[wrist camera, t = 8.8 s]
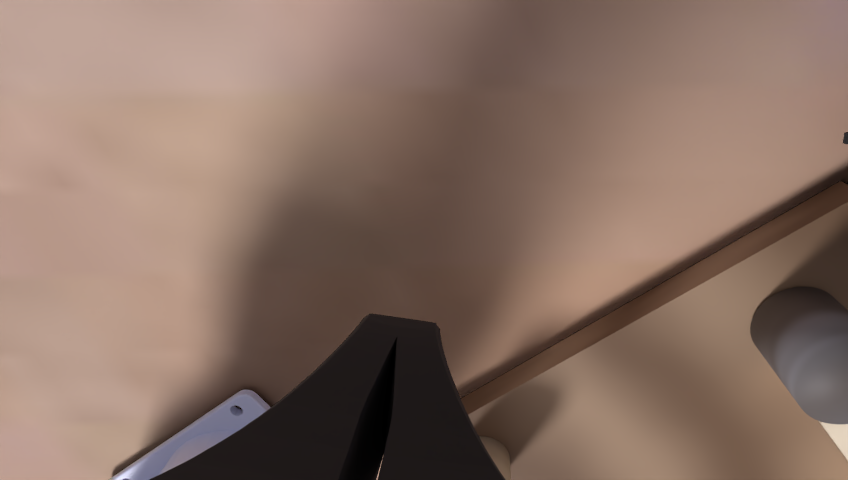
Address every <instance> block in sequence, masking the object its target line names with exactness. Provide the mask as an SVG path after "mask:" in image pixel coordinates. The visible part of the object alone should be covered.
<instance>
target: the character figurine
mask: <svg viewBox="0 0 848 480" xmlns="http://www.w3.org/2000/svg"><path fill="white" fill-rule="evenodd" d="M843 143H845V144H848V132H846V133H844V139H843Z"/></svg>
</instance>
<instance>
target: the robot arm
mask: <svg viewBox="0 0 848 480" xmlns="http://www.w3.org/2000/svg"><path fill="white" fill-rule="evenodd" d="M234 405H235V406H239V407H241V408H242V410H241V409H238V408H236V407H235V406H234ZM383 454H384V456H383ZM382 457H383V460H382ZM381 461H382V464H381ZM380 464H381V468H380ZM379 468H380V473H379V477H378V480H505V478H504V477H503V475H502V474H501V472H500V471H499V469H498V468H497V466H496V464H495V463H494V461H493V460H492V458H491V456H490V455H489V453H488V452H487V450H486V448H485V446H484V445H483V443H482V441H481V439H480V437H479V435H478V434H477V432H476V430H475V428H474V426H473V424H472V422H471V420H470V418H469V416H468V414H467V412H466V410H465V407H464V405H463V403H462V401H461V399H460V396H459V394H458V391H457V389H456V386H455V384H454V381H453V379H452V376H451V373H450V370H449V367H448V364H447V361H446V358H445V354H444V351H443V347H442V342H441V336H440V329H439V327H438V326H437V325H436V323H433V322H426V321H419V320H412V319H405V318H398V317H391V316H384V315H377V314H369V315H368V316H366V317H365V318H363V320H362V321H361V322H360V324H359V325H358V326H357V327H356V328H355V330H354V331H353V332H352V333H351V334H350V335H349V337H348V338H347V339H346V340H345V341H344V342H343V343H342V344H341V345H340V346H339V347H338V348H337V349H336V350H335V351H334V352H333V353H332V354H331V355H330V356H329V357H328V358H327V359H326V360H325V361H324V362H323V363H322V364H321V365H320V366H319V367H318V368H317V369H316V370H315V371H314V372H313V373H312V374H311V375H310V376H308V377H307V378H306V379H305V380H304V381H303V382H301V383H300V384H299V385H298V386H297V387H296V388H294V389H293V390H292V391H291V392H290V393H289V394H287V395H286V396H285V397H284V398H283V399H281V400H280V401H279V402H277V403H276V404H275V405H274V406H272V407H270V406H269V405H268V404H267V403H266V402H265V401H264V400H263V399H262V398H261V397H260V396H259V395H258V394H256V393H255V392H253V391H251V390H241V391H239V392H238V393H236V394H235V395H233V396H232V397H230V398H229V399H227V400H226V401H224V402H223V403H221V404H220V405H218V406H217V407H215V408H214V409H212V410H211V411H209V412H208V413H206V414H205V415H203V416H202V417H201V418H199V419H198V420H196V421H195V422H193V423H192V424H190V425H189V426H187V427H186V428H184V429H183V430H181V431H180V432H178V433H177V434H175V435H174V436H172V437H171V438H169V439H168V440H166V441H165V442H163V443H162V444H161V445H159V446H158V447H156V448H155V449H153V450H152V451H150V452H149V453H147V454H146V455H144V456H143V457H141V458H140V459H138V460H137V461H135V462H134V463H132V464H131V465H129V466H128V467H126V468H125V469H124V470H122V471H121V472H119V473H118V474H116V475H115V476H113V477H112V478H110V479H109V480H376V478H377V475H378V471H379Z"/></svg>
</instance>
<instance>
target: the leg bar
mask: <svg viewBox="0 0 848 480" xmlns="http://www.w3.org/2000/svg"><path fill="white" fill-rule="evenodd" d="M750 334H751V338H752V341H753V343H754V344H755V346H756V347H757V349H758V350H759V351H760V353H761V354H762V355H763V357H764V358H765V359H766V361H767V362H768V364H769V365H770V366H771V368H772V369H773V370H774V372H775V373H776V375H777V376H778V377H779V379H780V380H781V381H782V383H783V384H784V385H785V387H786V388H787V390H788V391H789V392H790V394H791V395H792V396H793V398H794V399H795V400H796V402H797V403H798V405H799V406H800V407H801V409H802V410H803V411H804V412H805V413H806V414H807V415H809V416H810V417H812V418H813V419H815V420H818V421H819V423H820V424H821V425H822V427H823V428H824V430H825V431H826V432H827V434H828V435H829V436H830V438H831V439H832V440H833V442H834V443H835V445H836V446H837V447H838V449H839V450H840V451H841V453H842V454H843V455H844V457H845V458H846V460H847V461H848V310H847V309H846V308H845V307H844V306H843V305H841V304H840V303H839V302H838V301H837V300H836V299H835V298H834V297H833V296H832V295H831V294H829V293H827V292H826V291H824V290H821V289H818V288H814V287H805V286H804V287H794V288H789V289H786V290H783V291H780V292H778V293H776V294H774V295H773V296H771V297H770V298H768V299H767V300H766V301H764V302H763V303H762V304H761V305H760V307H759V308H758V309H757V311H756V312H755V314H754V316H753V318H752V321H751V326H750Z"/></svg>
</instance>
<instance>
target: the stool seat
mask: <svg viewBox="0 0 848 480" xmlns="http://www.w3.org/2000/svg"><path fill="white" fill-rule="evenodd" d="M804 286H805V287H814V288H818V289H821V290H824V291H826V292H827V293H829V294H831V295H832V296H833V297H834V298H835V299H836V300H837V301H838V302H839V303H840V304H841V305H843V306H844V307H845V308H846V309H847V310H848V185H847V184H845V183H843V182H842V181H840V182H838V183H836V184H834V185H833V186H831V187H829V188H827V189H826V190H824V191H822V192H820V193H819V194H817V195H815V196H813V197H812V198H810V199H808V200H806V201H805V202H803V203H801V204H799V205H798V206H796V207H794V208H793V209H791V210H789V211H787V212H786V213H784V214H782V215H780V216H779V217H777V218H775V219H773V220H772V221H770V222H768V223H766V224H765V225H763V226H761V227H759V228H758V229H756V230H754V231H752V232H751V233H749V234H747V235H745V236H744V237H742V238H740V239H738V240H737V241H735V242H733V243H731V244H730V245H728V246H726V247H724V248H723V249H721V250H719V251H718V252H716V253H714V254H712V255H711V256H709V257H707V258H705V259H704V260H702V261H700V262H698V263H697V264H695V265H693V266H691V267H690V268H688V269H686V270H684V271H683V272H681V273H679V274H677V275H676V276H674V277H672V278H670V279H669V280H667V281H665V282H663V283H662V284H660V285H658V286H656V287H655V288H653V289H651V290H649V291H648V292H646V293H644V294H643V295H641V296H639V297H637V298H636V299H634V300H632V301H630V302H629V303H627V304H625V305H623V306H622V307H620V308H618V309H616V310H615V311H613V312H611V313H609V314H608V315H606V316H604V317H602V318H601V319H599V320H597V321H595V322H594V323H592V324H590V325H588V326H587V327H585V328H583V329H581V330H580V331H578V332H576V333H574V334H573V335H571V336H569V337H568V338H566V339H564V340H562V341H561V342H559V343H557V344H555V345H554V346H552V347H550V348H548V349H547V350H545V351H543V352H541V353H540V354H538V355H536V356H534V357H533V358H531V359H529V360H527V361H526V362H524V363H522V364H520V365H519V366H517V367H515V368H513V369H512V370H510V371H508V372H506V373H505V374H503V375H501V376H499V377H498V378H496V379H494V380H493V381H491V382H489V383H487V384H486V385H484V386H482V387H480V388H479V389H477V390H475V391H473V392H472V393H470V394H468V395H466V396H465V397H463V398H461V401H462V403H463V405H464V407H465V410H466V412H467V414H468V416H469V418H470V420H471V422H472V424H473V426H474V428H475V430H476V432H477V434H478V435H479V437H480V439H481V441H482V443H483V445H484V446H485V448H486V450H487V452H488V453H489V455H490V456H491V458H492V460H493V461H494V463H495V464H496V466H497V468H498V469H499V471H500V472H501V474H502V475H503V477H504V478H505V480H848V461H847V460H846V458H845V457H844V455H843V454H842V453H841V451H840V450H839V449H838V447H837V446H836V445H835V443H834V442H833V440H832V439H831V438H830V436H829V435H828V434H827V432H826V431H825V430H824V428H823V427H822V425H821V424H820V423H819V421H818V420H815V419H813V418H812V417H810V416H809V415H807V414H806V413H805V412H804V411H803V410H802V409H801V407H800V406H799V405H798V403H797V402H796V400H795V399H794V398H793V396H792V395H791V394H790V392H789V391H788V390H787V388H786V387H785V385H784V384H783V383H782V381H781V380H780V379H779V377H778V376H777V375H776V373H775V372H774V370H773V369H772V368H771V366H770V365H769V364H768V362H767V361H766V359H765V358H764V357H763V355H762V354H761V353H760V351H759V350H758V349H757V347H756V346H755V344H754V343H753V341H752V338H751V334H750V326H751V321H752V318H753V316H754V314H755V312H756V311H757V309H758V308H759V307H760V305H761V304H762V303H763V302H764V301H766V300H767V299H768V298H770V297H771V296H773V295H774V294H776V293H778V292H780V291H783V290H786V289H789V288H794V287H804Z"/></svg>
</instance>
